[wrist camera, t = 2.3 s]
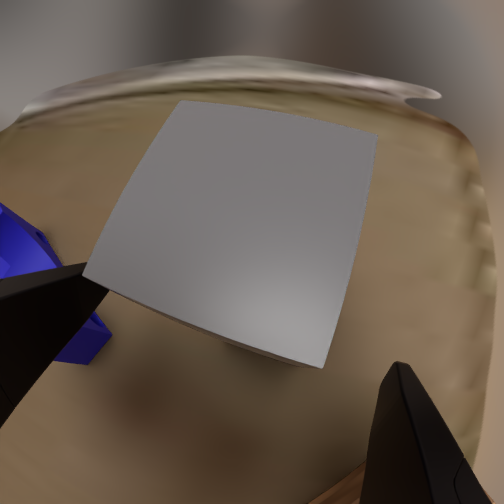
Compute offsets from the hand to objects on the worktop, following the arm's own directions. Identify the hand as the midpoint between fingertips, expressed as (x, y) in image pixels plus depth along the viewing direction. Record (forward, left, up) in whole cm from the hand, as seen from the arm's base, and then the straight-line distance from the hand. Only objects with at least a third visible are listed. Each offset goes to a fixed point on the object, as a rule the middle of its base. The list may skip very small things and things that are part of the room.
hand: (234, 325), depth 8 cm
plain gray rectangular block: (+2, +1, -9) cm, 9 cm away
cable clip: (-11, +12, -10) cm, 19 cm away
